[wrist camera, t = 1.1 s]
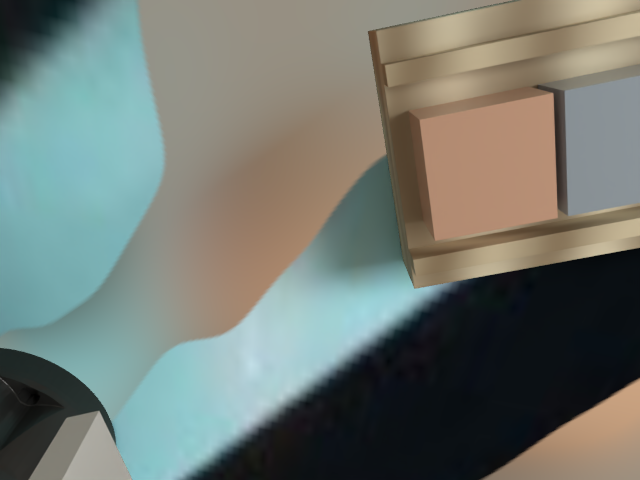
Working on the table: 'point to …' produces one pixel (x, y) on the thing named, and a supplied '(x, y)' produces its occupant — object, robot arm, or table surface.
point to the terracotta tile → (486, 162)
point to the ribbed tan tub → (487, 78)
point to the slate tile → (597, 139)
